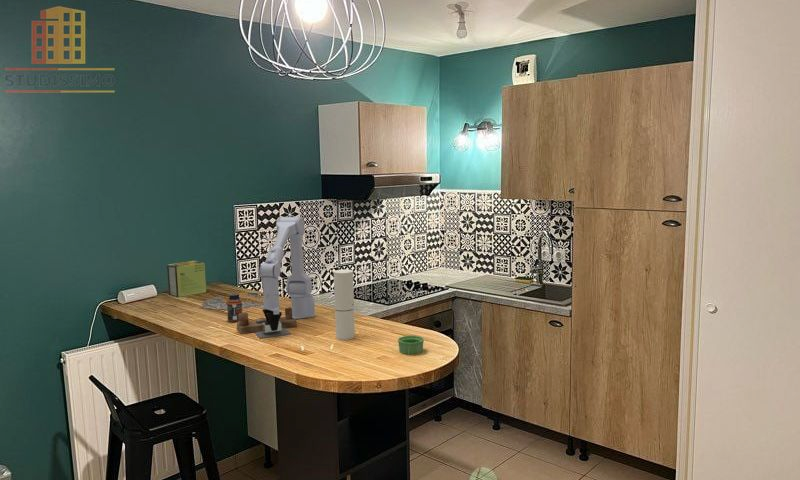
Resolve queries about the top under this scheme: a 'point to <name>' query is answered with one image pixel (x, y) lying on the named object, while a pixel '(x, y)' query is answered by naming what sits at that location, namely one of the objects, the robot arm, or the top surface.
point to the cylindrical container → (344, 304)
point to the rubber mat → (272, 333)
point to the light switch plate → (267, 327)
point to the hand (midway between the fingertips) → (272, 328)
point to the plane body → (256, 325)
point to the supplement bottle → (234, 307)
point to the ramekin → (411, 344)
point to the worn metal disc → (218, 304)
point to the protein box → (186, 278)
